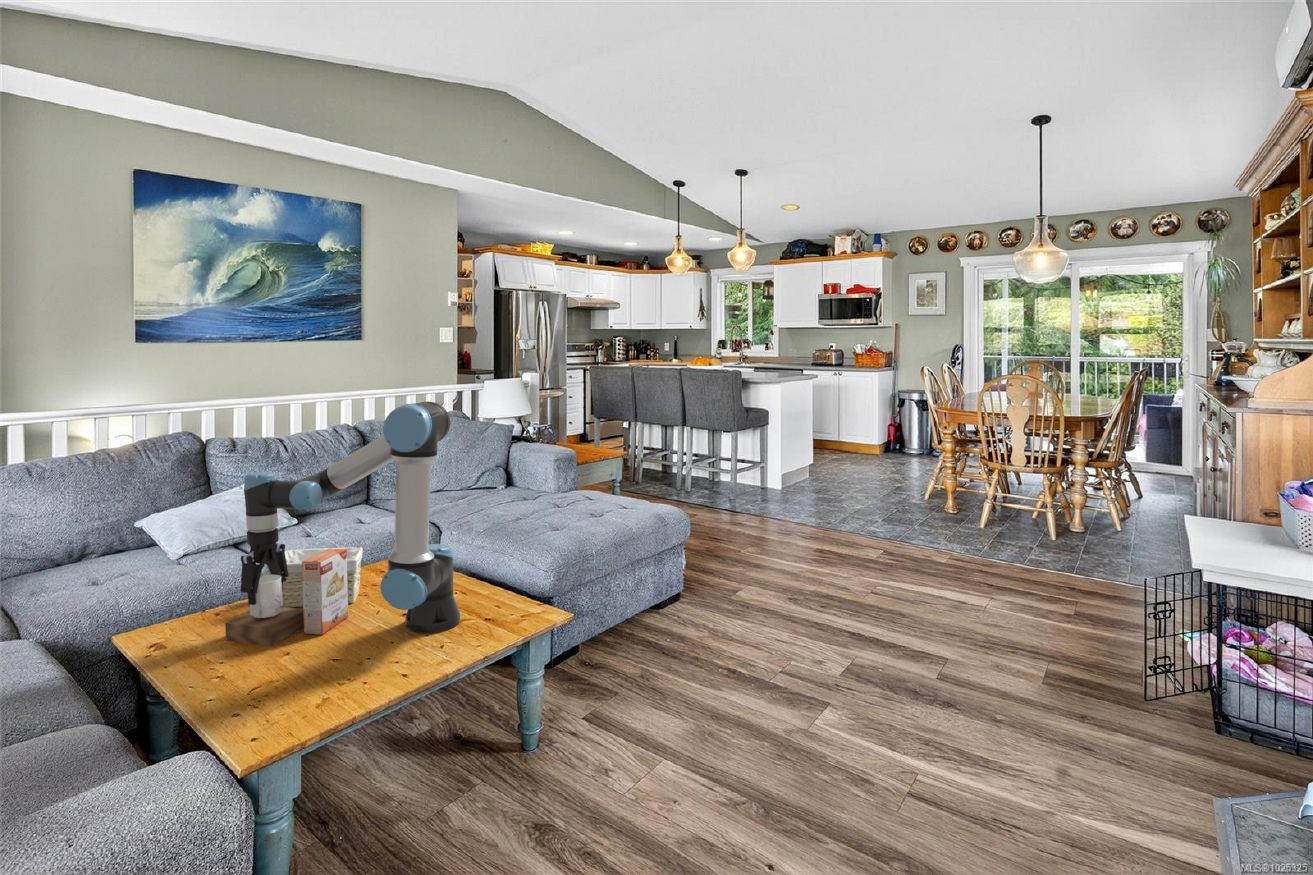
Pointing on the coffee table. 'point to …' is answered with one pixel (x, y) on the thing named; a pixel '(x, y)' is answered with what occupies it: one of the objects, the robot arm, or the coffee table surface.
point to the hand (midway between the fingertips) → (266, 609)
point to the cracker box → (324, 590)
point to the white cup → (269, 595)
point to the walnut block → (265, 627)
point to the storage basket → (294, 580)
